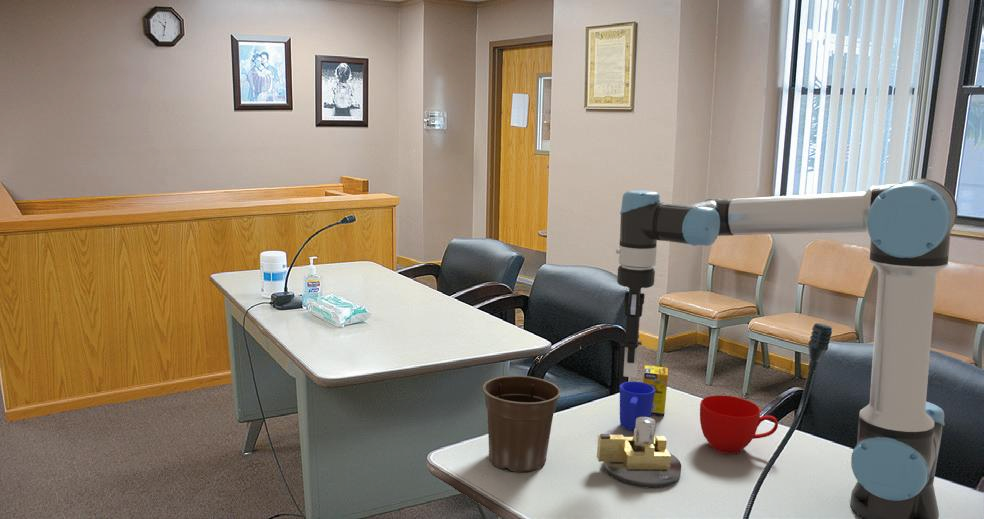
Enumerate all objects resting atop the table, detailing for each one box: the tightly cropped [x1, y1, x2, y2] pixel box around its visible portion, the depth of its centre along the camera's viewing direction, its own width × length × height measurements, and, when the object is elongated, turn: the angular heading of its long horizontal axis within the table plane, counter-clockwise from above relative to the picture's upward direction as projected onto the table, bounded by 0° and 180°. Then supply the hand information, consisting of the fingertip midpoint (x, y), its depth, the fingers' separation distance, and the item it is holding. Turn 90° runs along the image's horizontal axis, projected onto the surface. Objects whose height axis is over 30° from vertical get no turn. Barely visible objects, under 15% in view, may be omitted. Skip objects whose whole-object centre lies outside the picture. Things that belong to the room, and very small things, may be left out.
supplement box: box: [642, 365, 669, 417], centre depth 195 cm, size 6×6×11 cm
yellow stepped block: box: [596, 429, 671, 470], centre depth 163 cm, size 14×9×5 cm, turn 94°
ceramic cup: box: [699, 394, 779, 455], centre depth 175 cm, size 13×17×10 cm
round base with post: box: [602, 417, 682, 489], centre depth 163 cm, size 16×16×11 cm
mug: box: [619, 380, 655, 432], centre depth 183 cm, size 8×12×10 cm
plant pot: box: [482, 375, 562, 473], centre depth 165 cm, size 16×16×16 cm
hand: (630, 375), depth 164 cm, fingers closed
